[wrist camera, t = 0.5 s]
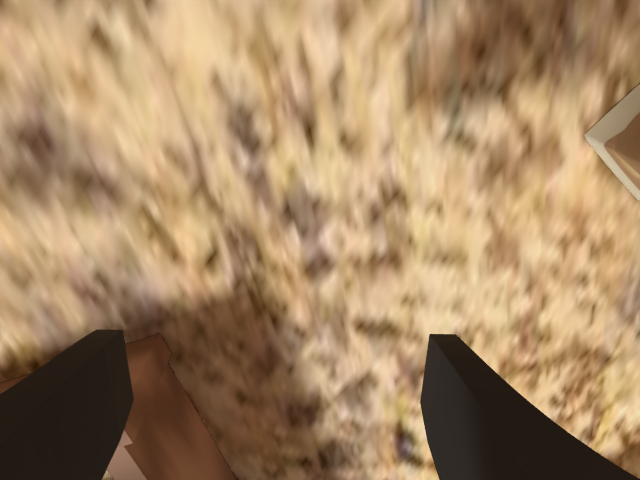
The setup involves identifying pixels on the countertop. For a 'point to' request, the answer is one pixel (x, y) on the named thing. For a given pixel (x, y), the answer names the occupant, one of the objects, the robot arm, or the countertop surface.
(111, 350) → the robot arm
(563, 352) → the countertop surface
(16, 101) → the countertop surface
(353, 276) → the countertop surface
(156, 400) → the walnut screen
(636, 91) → the skincare box
